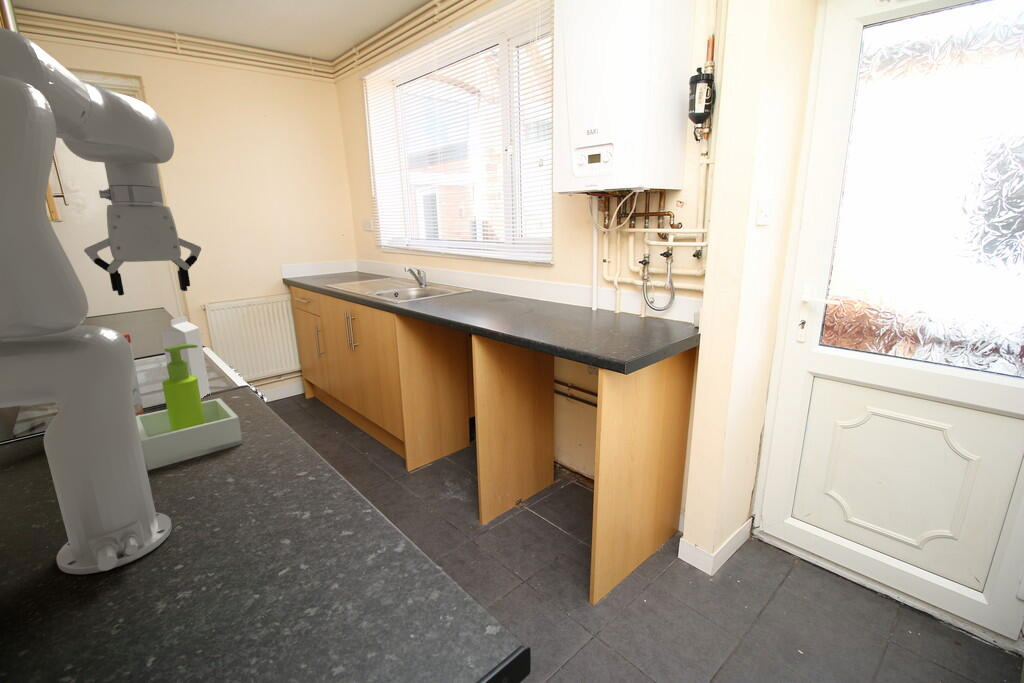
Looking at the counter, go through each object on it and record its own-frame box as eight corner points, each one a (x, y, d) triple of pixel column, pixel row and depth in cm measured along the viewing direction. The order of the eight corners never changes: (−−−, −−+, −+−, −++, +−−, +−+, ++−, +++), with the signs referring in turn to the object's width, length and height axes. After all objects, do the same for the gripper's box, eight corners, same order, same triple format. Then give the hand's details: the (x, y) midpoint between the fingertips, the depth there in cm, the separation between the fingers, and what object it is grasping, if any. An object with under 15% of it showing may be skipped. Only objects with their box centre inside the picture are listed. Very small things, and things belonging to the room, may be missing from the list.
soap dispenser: (217, 435, 101) (202, 344, 96) (181, 447, 95) (163, 351, 91) (204, 429, 104) (188, 341, 100) (168, 441, 99) (150, 347, 94)
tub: (242, 444, 99) (238, 417, 98) (147, 470, 89) (141, 440, 87) (223, 422, 111) (219, 398, 109) (137, 443, 100) (132, 416, 99)
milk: (173, 403, 124) (157, 320, 118) (189, 395, 129) (174, 315, 124) (197, 403, 124) (181, 319, 118) (211, 395, 129) (197, 315, 124)
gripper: (73, 194, 78) (94, 298, 81) (197, 199, 89) (210, 290, 93) (73, 198, 83) (92, 295, 87) (189, 202, 95) (203, 288, 98)
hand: (153, 292), depth 90 cm, fingers open, 9 cm apart
